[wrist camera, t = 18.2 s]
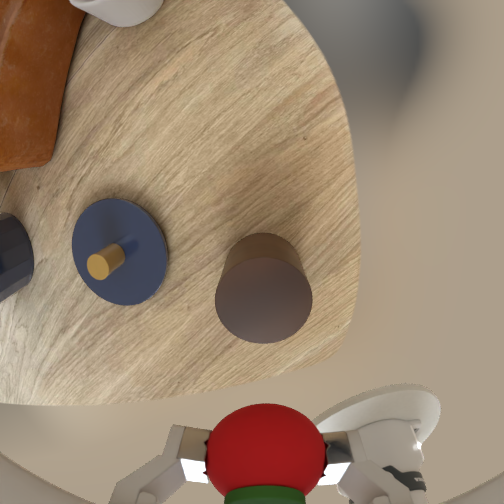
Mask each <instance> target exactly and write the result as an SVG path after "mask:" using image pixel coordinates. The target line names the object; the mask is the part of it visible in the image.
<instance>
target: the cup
mask: <svg viewBox="0 0 504 504" xmlns="http://www.w3.org/2000/svg"><path fill="white" fill-rule="evenodd" d="M69 1H70V3H71V4H72V5H74V6H75V7H77V8H79V9H81V10H83V11H85V12H87V13H89V14H91V15H93V16H95V17H97V18H99V19H101V20H103V21H105V22H107V23H109V24H111V25H113V26H117V27H131V26H135V25H138V24H140V23H142V22H144V21H146V20H147V19H149V18H150V17H152V16H153V15H154V14H155V13H156V12H157V11H158V10H159V8H160V7H161V5H162V3H163V1H164V0H69Z"/></svg>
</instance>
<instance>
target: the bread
mask: <svg viewBox="0 0 504 504" xmlns="http://www.w3.org/2000/svg"><path fill="white" fill-rule="evenodd" d="M85 13H86V12H85V11H83V10H81V9H79V8H77V7H75V6H74V5H72V4H71V3H70V1H69V0H0V172H4V171H10V170H16V169H23V168H30V167H40V166H43V165H45V164H46V163H47V162H49V161H50V160H51V158H52V155H53V150H54V145H55V139H56V134H57V127H58V121H59V115H60V109H61V103H62V98H63V92H64V87H65V83H66V78H67V74H68V70H69V66H70V62H71V58H72V54H73V51H74V46H75V42H76V39H77V35H78V31H79V28H80V25H81V23H82V20H83V18H84V15H85Z"/></svg>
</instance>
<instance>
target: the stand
mask: <svg viewBox="0 0 504 504" xmlns="http://www.w3.org/2000/svg"><path fill="white" fill-rule="evenodd" d="M215 307H216V311H217V314H218V317H219V319H220V320H221V322H222V324H223V325H224V326H225V327H226V328H227V329H228V330H229V331H230V332H231V333H232V334H234V335H235V336H237V337H238V338H241V339H243V340H245V341H248V342H253V343H260V344H267V343H274V342H278V341H281V340H284V339H286V338H288V337H290V336H292V335H293V334H295V333H296V332H297V331H298V330H299V329H300V328H301V327H302V326H303V325H304V323H305V322H306V321H307V319H308V317H309V315H310V312H311V308H312V292H311V288H310V285H309V282H308V280H307V277H306V275H305V272H304V270H303V267H302V264H301V262H300V259H299V257H298V254H297V252H296V251H295V249H294V248H293V246H292V245H291V244H290V243H289V242H288V241H286V240H285V239H283V238H282V237H280V236H277V235H274V234H270V233H256V234H252V235H249V236H247V237H245V238H243V239H241V240H240V241H239V242H237V243H236V244H235V245H234V247H233V248H232V249H231V251H230V253H229V255H228V257H227V260H226V263H225V266H224V269H223V272H222V275H221V278H220V280H219V283H218V286H217V289H216V294H215Z"/></svg>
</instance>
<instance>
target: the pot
mask: <svg viewBox="0 0 504 504" xmlns="http://www.w3.org/2000/svg"><path fill="white" fill-rule="evenodd" d="M33 270H34V258H33V251H32V247H31V243H30V240H29V237H28V235H27V233H26V231H25V229H24V227H23V225H22V224H21V223H20V221H19V220H18V219H17V218H16V217H15V216H13V215H12V214H9V213H1V214H0V304H1V303H3V302H4V301H6V300H7V299H8V298H10V297H11V296H13V295H14V294H16V293H17V292H19V291H20V290H22V289H23V288H24V287H25V286H27V285H28V284H29V282H30V281H31V278H32V275H33Z"/></svg>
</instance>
